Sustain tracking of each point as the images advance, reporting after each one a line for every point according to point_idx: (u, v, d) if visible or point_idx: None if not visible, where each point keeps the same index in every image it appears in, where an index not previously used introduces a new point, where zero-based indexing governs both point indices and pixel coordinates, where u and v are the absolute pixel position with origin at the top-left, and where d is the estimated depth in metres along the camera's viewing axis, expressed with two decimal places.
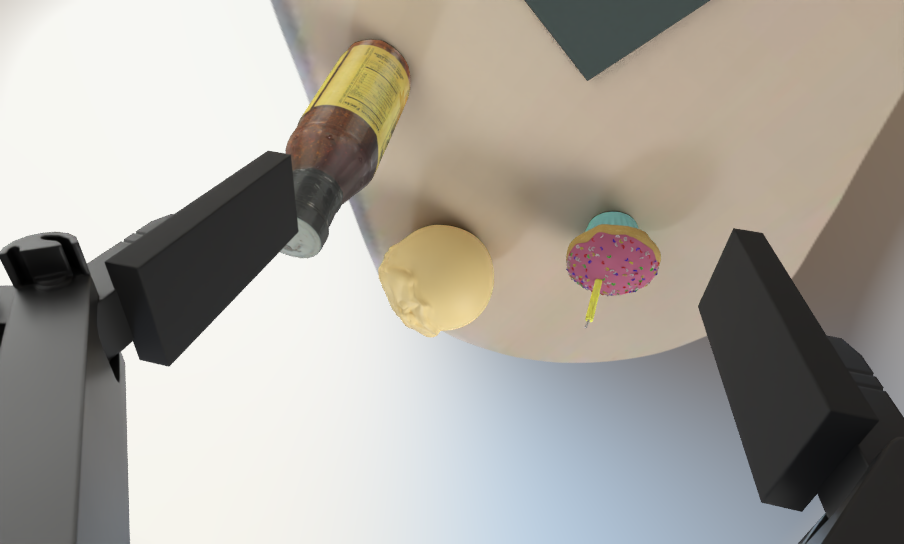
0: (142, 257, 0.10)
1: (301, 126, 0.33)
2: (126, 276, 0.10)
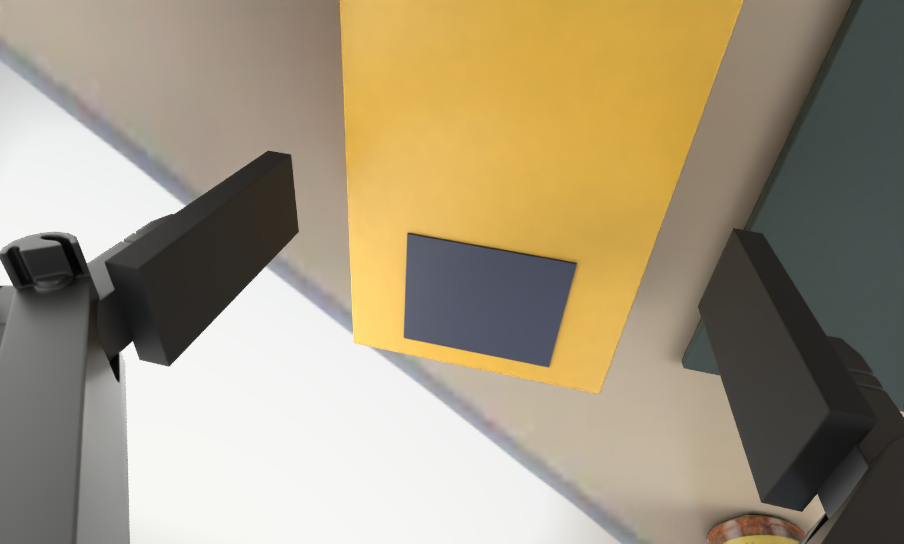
0: (142, 257, 0.10)
1: None
2: (126, 276, 0.10)
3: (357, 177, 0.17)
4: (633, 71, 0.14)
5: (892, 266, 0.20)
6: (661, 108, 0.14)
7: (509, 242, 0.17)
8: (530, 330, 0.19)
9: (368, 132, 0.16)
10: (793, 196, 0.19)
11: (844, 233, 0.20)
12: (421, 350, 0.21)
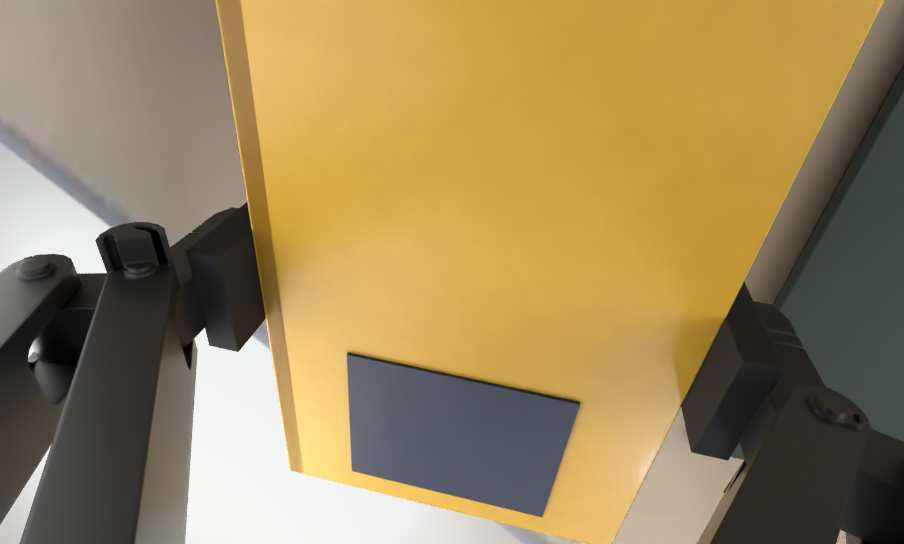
0: (220, 247, 0.11)
1: None
2: (206, 264, 0.11)
3: (273, 282, 0.12)
4: (669, 158, 0.09)
5: None
6: (711, 212, 0.09)
7: (486, 372, 0.12)
8: (517, 473, 0.14)
9: (282, 226, 0.11)
10: (834, 271, 0.17)
11: (893, 313, 0.17)
12: (376, 485, 0.16)
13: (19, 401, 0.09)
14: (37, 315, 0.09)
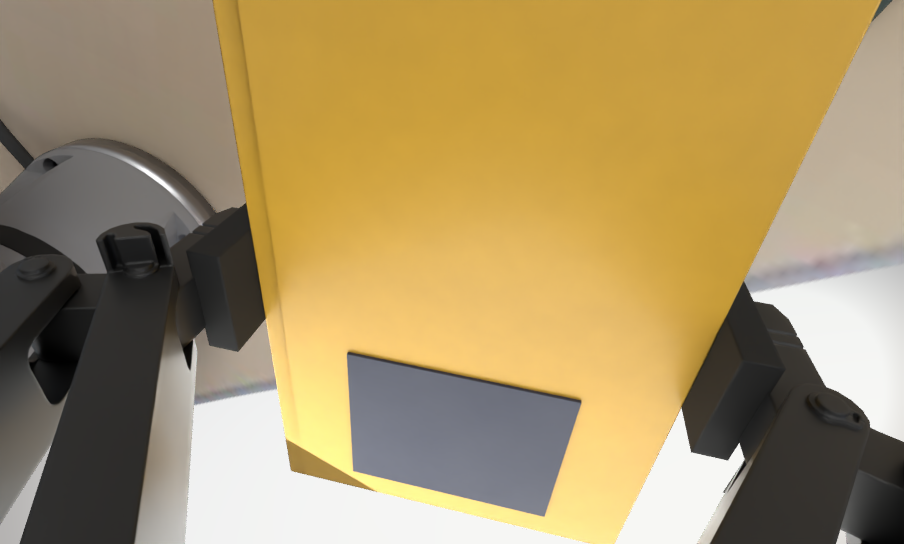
0: (220, 246, 0.11)
1: None
2: (206, 264, 0.11)
3: (272, 281, 0.12)
4: (668, 154, 0.09)
5: None
6: (711, 208, 0.09)
7: (486, 370, 0.12)
8: (519, 473, 0.14)
9: (281, 225, 0.11)
10: None
11: None
12: (377, 485, 0.16)
13: (19, 401, 0.09)
14: (37, 315, 0.09)
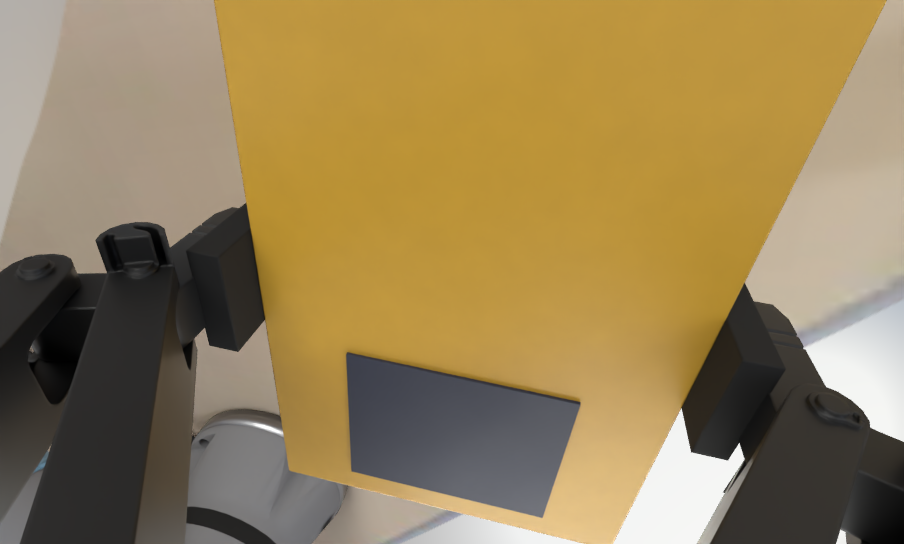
0: (220, 246, 0.11)
1: None
2: (206, 264, 0.11)
3: (272, 281, 0.12)
4: (670, 156, 0.09)
5: None
6: (712, 210, 0.09)
7: (486, 372, 0.12)
8: (517, 473, 0.14)
9: (281, 225, 0.11)
10: None
11: None
12: (375, 485, 0.16)
13: (19, 401, 0.09)
14: (37, 315, 0.09)
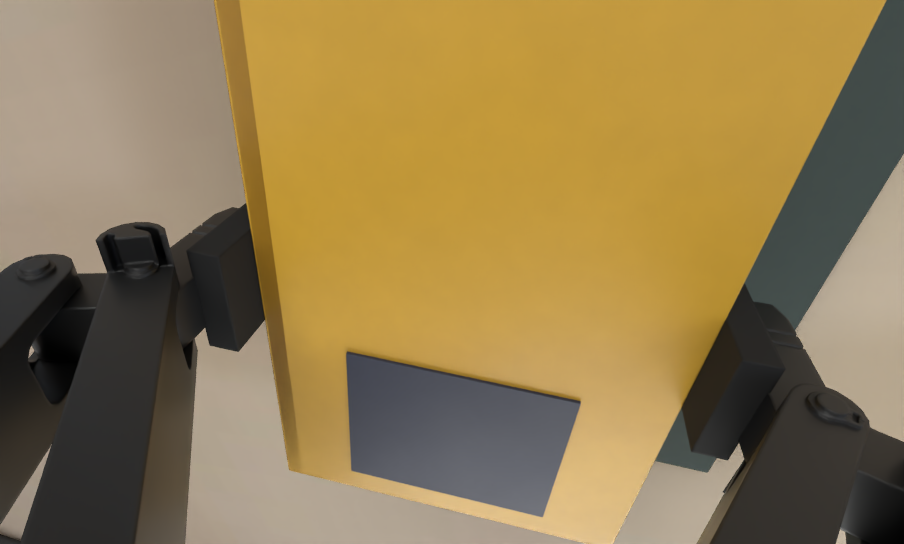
0: (220, 246, 0.11)
1: None
2: (206, 264, 0.11)
3: (272, 281, 0.12)
4: (671, 155, 0.09)
5: None
6: (713, 208, 0.09)
7: (486, 371, 0.12)
8: (517, 473, 0.14)
9: (281, 224, 0.11)
10: None
11: None
12: (375, 484, 0.16)
13: (19, 401, 0.09)
14: (37, 315, 0.09)
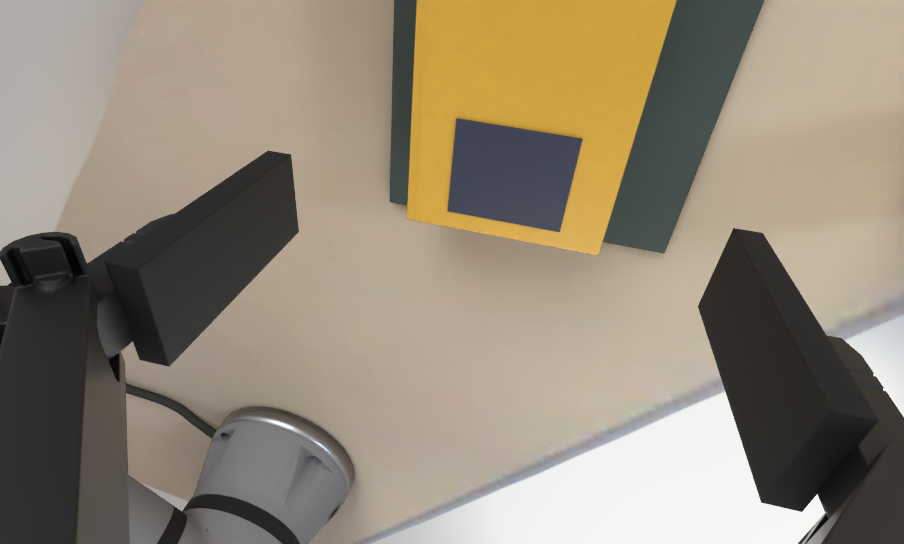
0: (142, 257, 0.10)
1: None
2: (126, 276, 0.10)
3: (421, 73, 0.23)
4: None
5: None
6: (644, 11, 0.20)
7: (532, 123, 0.24)
8: (546, 199, 0.25)
9: (432, 35, 0.22)
10: None
11: None
12: (460, 222, 0.27)
13: None
14: None
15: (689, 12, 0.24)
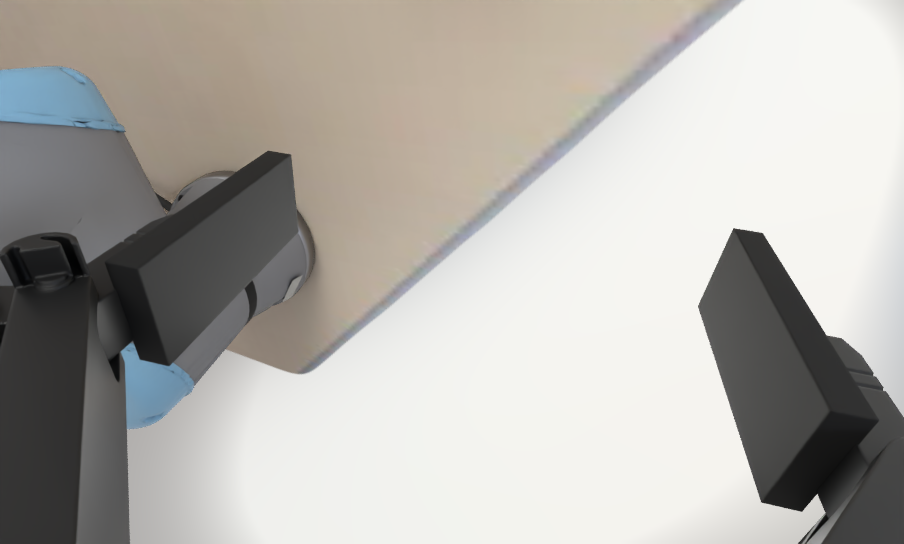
0: (142, 257, 0.10)
1: None
2: (126, 276, 0.10)
3: None
4: None
5: None
6: None
7: None
8: None
9: None
10: None
11: None
12: None
13: None
14: None
15: None
